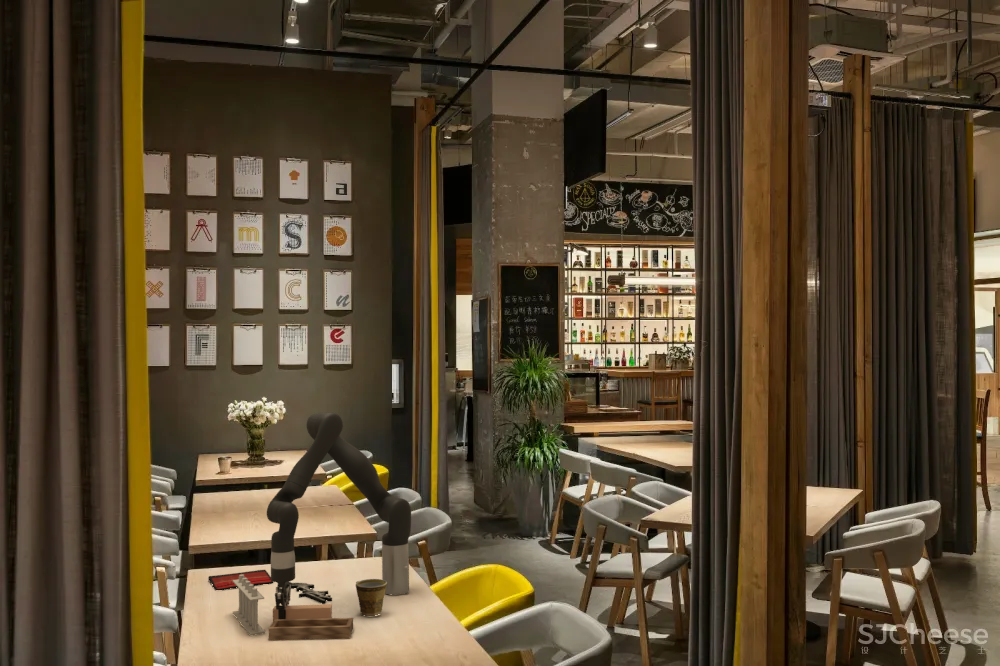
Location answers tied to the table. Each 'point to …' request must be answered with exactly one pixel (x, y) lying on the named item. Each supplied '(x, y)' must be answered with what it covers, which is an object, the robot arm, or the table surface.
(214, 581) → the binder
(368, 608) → the ceramic cup
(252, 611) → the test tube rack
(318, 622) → the shallow wooden tray
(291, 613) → the clay strip
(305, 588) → the dark angular piece
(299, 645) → the table surface
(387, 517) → the robot arm
